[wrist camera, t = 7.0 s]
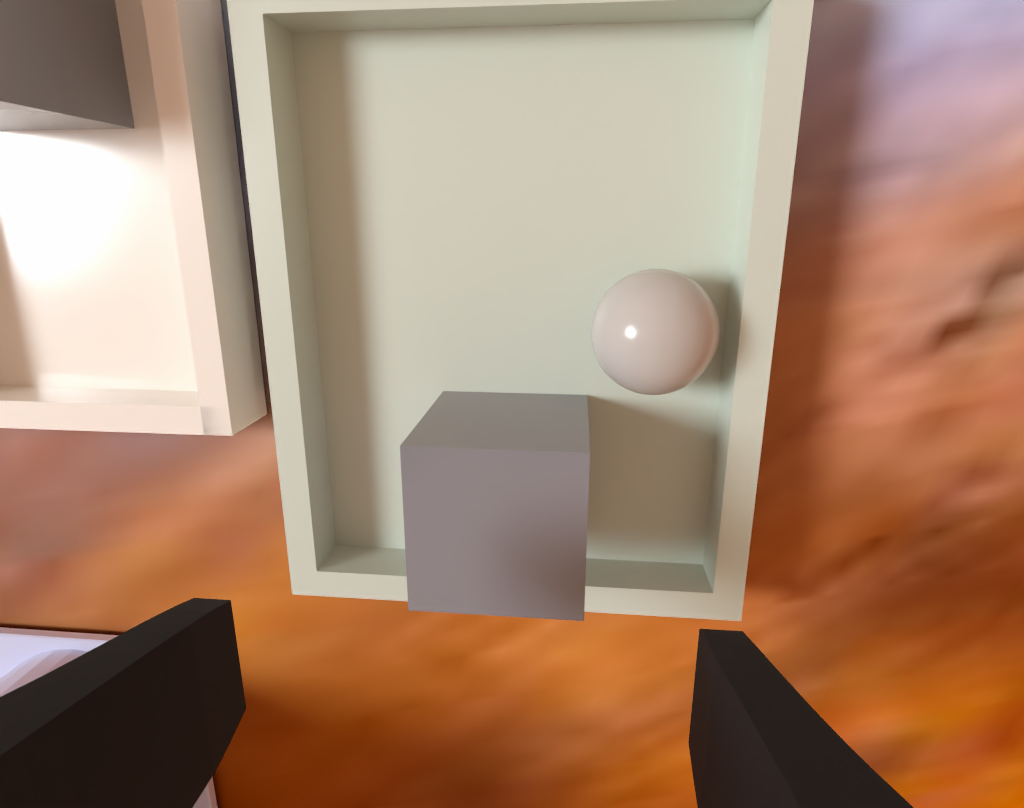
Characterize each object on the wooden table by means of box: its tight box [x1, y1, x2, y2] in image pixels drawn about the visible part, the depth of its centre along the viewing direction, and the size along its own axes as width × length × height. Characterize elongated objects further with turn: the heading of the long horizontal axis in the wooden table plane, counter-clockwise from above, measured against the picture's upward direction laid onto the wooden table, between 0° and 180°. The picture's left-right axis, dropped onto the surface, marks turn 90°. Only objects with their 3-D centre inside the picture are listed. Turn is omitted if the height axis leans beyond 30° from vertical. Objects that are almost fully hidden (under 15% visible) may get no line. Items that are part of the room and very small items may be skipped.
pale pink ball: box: [591, 269, 720, 395], centre depth 15 cm, size 3×3×3 cm
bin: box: [227, 0, 814, 621], centre depth 16 cm, size 16×13×2 cm
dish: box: [0, 0, 267, 436], centre depth 17 cm, size 13×9×2 cm
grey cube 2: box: [400, 391, 590, 621], centre depth 16 cm, size 4×4×4 cm
